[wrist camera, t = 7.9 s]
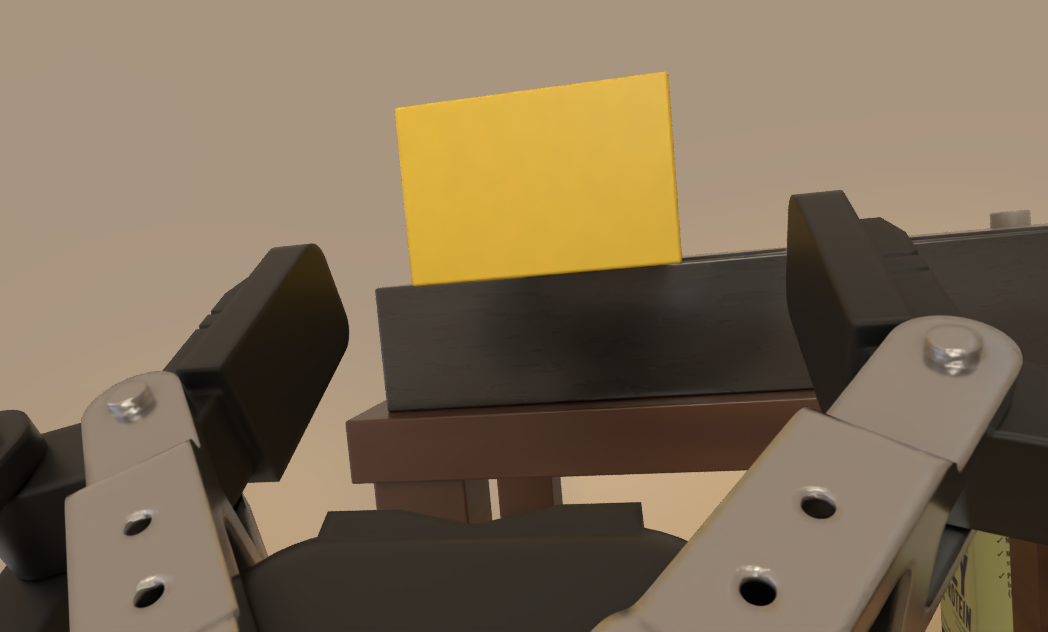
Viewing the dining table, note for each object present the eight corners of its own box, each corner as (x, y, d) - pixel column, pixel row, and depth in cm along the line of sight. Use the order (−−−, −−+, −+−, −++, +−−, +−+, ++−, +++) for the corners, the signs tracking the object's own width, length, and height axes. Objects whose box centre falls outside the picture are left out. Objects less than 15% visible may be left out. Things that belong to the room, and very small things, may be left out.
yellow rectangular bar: (682, 263, 11) (667, 70, 11) (411, 287, 12) (393, 107, 12) (664, 256, 38) (660, 198, 38) (579, 264, 39) (574, 207, 39)
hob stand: (1542, 1431, 19) (1551, 150, 17) (432, 1242, 24) (327, 266, 22) (1090, 829, 38) (1066, 206, 36) (533, 802, 44) (482, 261, 42)
